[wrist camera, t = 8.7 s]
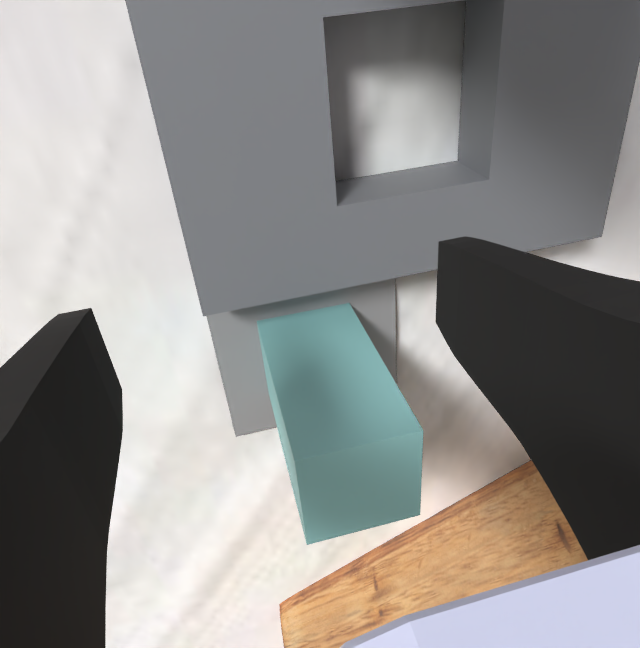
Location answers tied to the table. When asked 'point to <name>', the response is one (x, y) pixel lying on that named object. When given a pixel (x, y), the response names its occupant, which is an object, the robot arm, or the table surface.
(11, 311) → the table surface
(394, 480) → the teal block
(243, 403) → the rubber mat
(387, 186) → the pocket board
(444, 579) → the wooden box
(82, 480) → the robot arm
